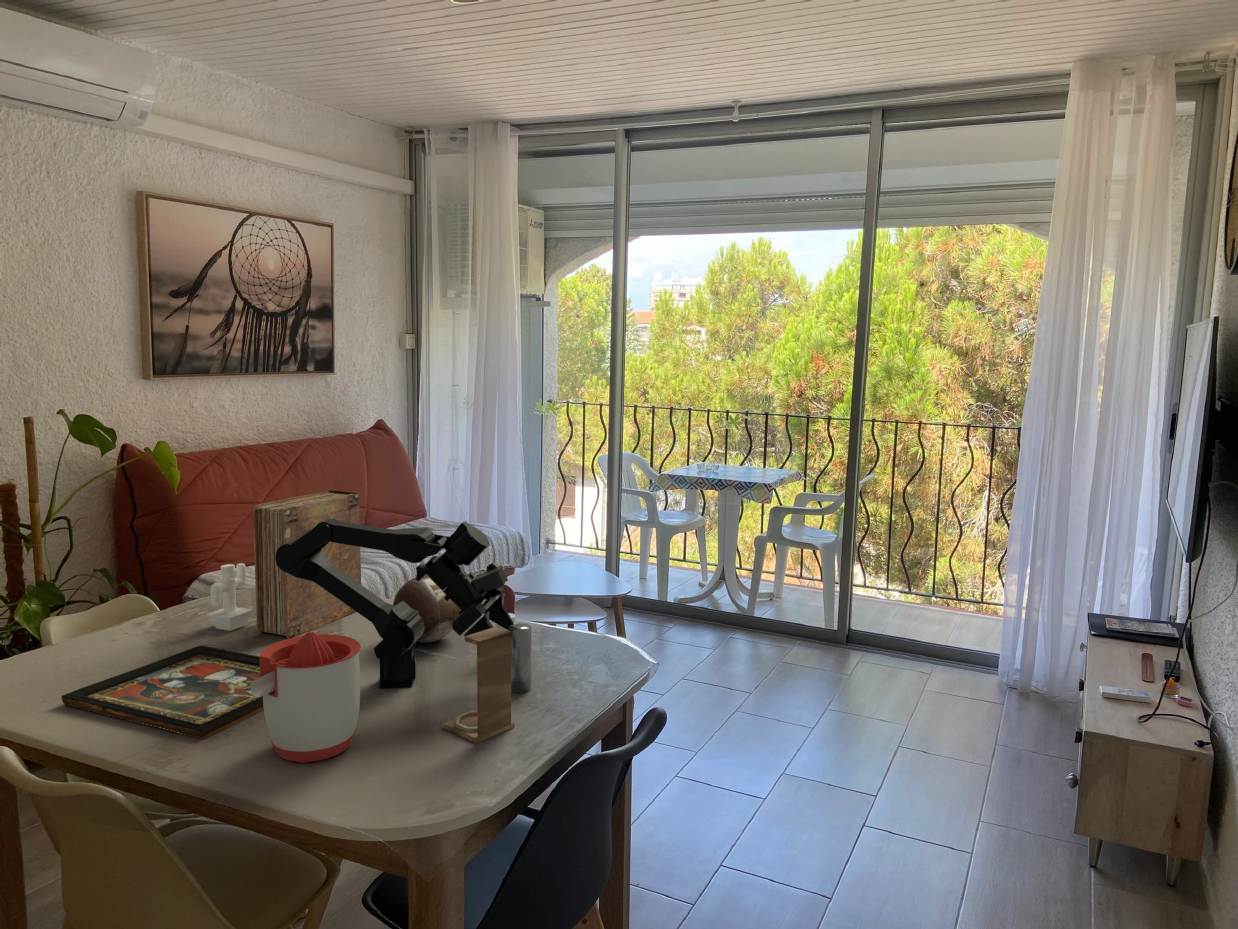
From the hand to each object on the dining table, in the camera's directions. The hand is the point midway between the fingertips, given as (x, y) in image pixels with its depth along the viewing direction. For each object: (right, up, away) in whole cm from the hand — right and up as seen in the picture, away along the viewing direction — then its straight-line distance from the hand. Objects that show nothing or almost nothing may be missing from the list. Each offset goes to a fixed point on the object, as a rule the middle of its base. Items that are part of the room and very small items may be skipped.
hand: (509, 638), depth 170 cm
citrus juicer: (-30, -13, -26) cm, 42 cm away
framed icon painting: (-59, -10, -2) cm, 60 cm away
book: (-53, -4, +41) cm, 67 cm away
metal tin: (+2, -10, +1) cm, 10 cm away
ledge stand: (-4, -12, -16) cm, 21 cm away
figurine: (-70, -5, +36) cm, 79 cm away
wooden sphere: (-22, -6, +28) cm, 36 cm away
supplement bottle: (-3, -8, +17) cm, 19 cm away
